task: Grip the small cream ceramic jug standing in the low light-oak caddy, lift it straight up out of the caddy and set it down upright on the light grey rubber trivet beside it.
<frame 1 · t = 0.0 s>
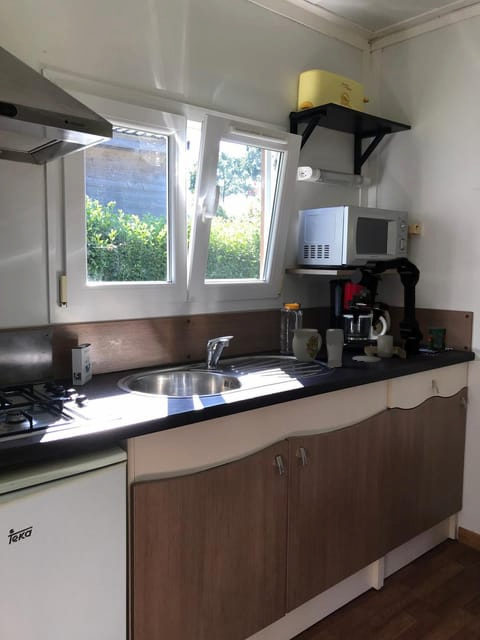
hand: (363, 325, 232), 15 cm above the countertop, tool pointing down, fingers open, 9 cm apart
pitcher: (306, 360, 237), on the countertop
beer glass: (334, 367, 223), on the countertop
cream jug: (385, 346, 246), in the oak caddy
canned tomato: (436, 350, 262), on the countertop
grey trivet: (366, 359, 238), on the countertop
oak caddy: (384, 355, 248), on the countertop
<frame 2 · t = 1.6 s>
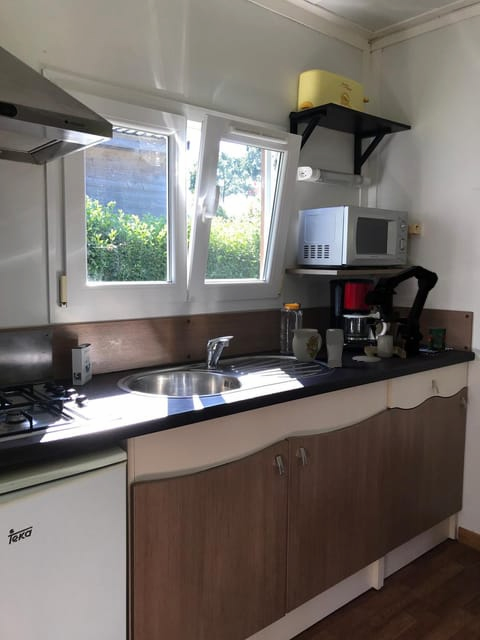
hand: (385, 339, 247), 7 cm above the countertop, tool pointing down, fingers open, 9 cm apart
nothing on the countertop moved.
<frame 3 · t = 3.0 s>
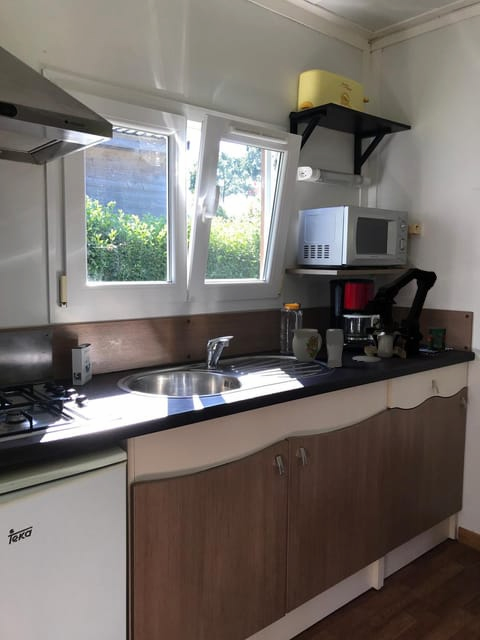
hand: (385, 349, 247), 3 cm above the countertop, tool pointing down, fingers closed on cream jug, 7 cm apart
cream jug: (385, 346, 246), in the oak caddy, touching gripper
everything else where it was.
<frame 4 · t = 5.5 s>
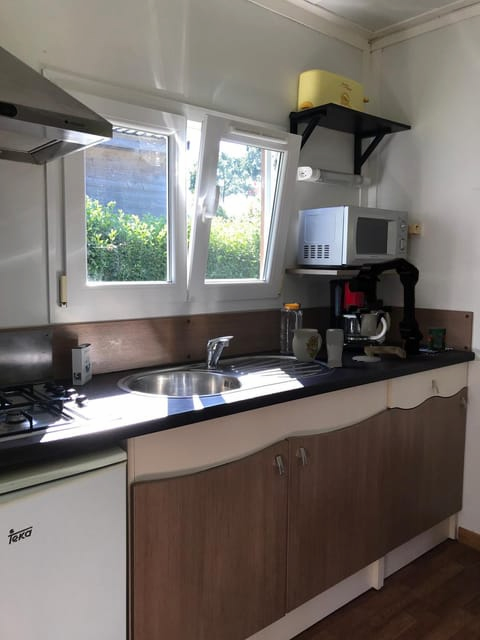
hand: (368, 328, 237), 13 cm above the countertop, tool pointing down, fingers closed on cream jug, 7 cm apart
cream jug: (369, 325, 236), point 15 cm above the countertop, touching gripper
everything else where it was.
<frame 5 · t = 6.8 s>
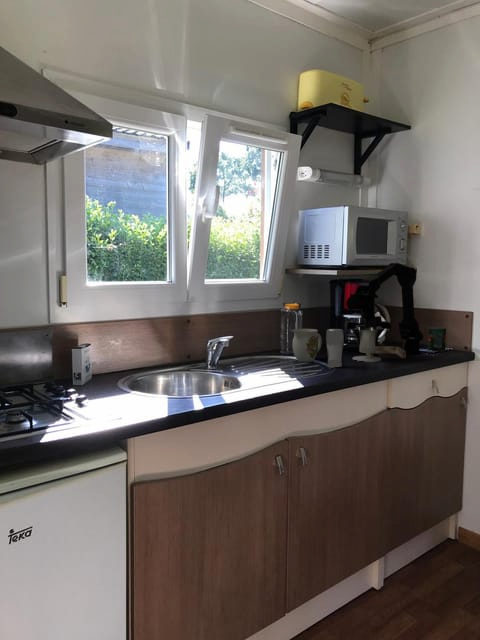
hand: (367, 344, 237), 6 cm above the countertop, tool pointing down, fingers closed on cream jug, 7 cm apart
cream jug: (367, 341, 236), point 8 cm above the countertop, touching gripper
everything else where it was.
when the fingers open (5 cm above the countertop, at t = 8.1 s): cream jug drops 1 cm, resting on grey trivet.
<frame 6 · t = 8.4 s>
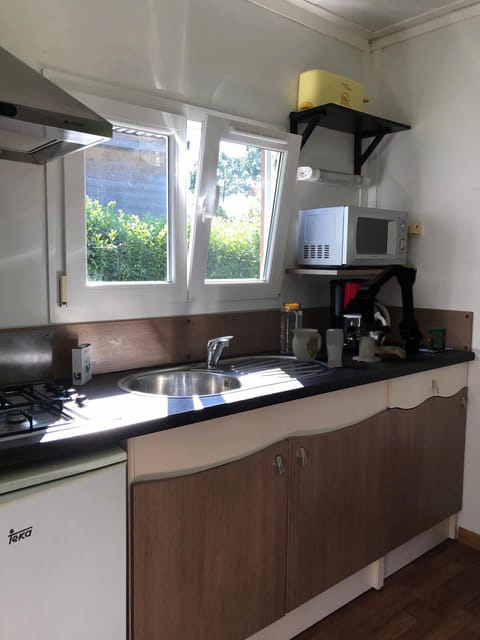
hand: (366, 348, 237), 5 cm above the countertop, tool pointing down, fingers open, 9 cm apart
cream jug: (367, 348, 236), on the grey trivet, point 5 cm above the countertop
everything else where it was.
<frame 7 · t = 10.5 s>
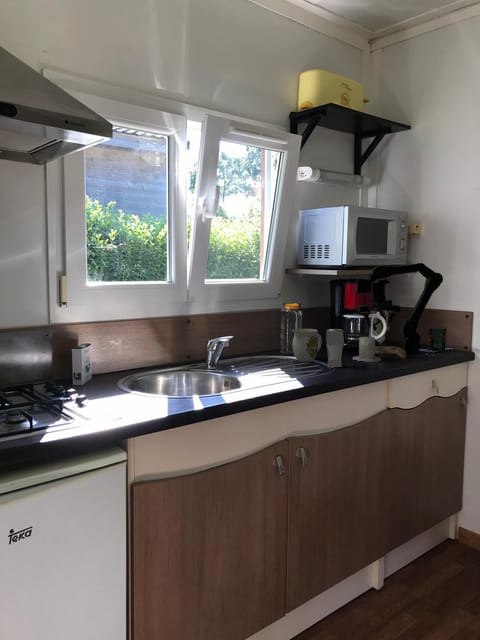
hand: (378, 327, 255), 12 cm above the countertop, tool pointing down, fingers open, 9 cm apart
nothing on the countertop moved.
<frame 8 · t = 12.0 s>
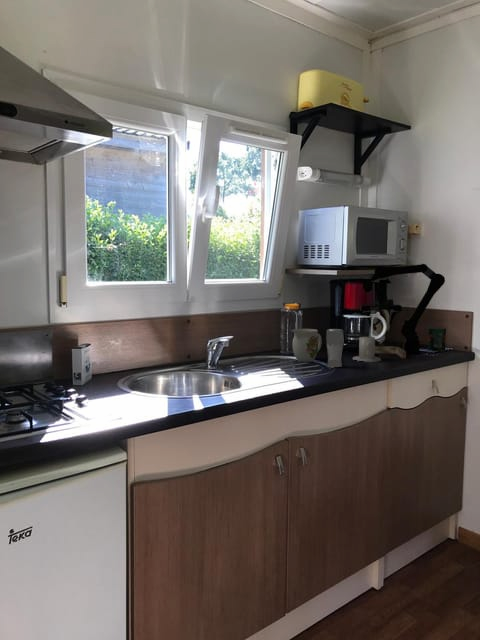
hand: (379, 326, 258), 12 cm above the countertop, tool pointing down, fingers open, 9 cm apart
nothing on the countertop moved.
at the end: cream jug 0.1 cm from the grey trivet (horizontally); cream jug tilted 0°; cream jug touching grey trivet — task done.
